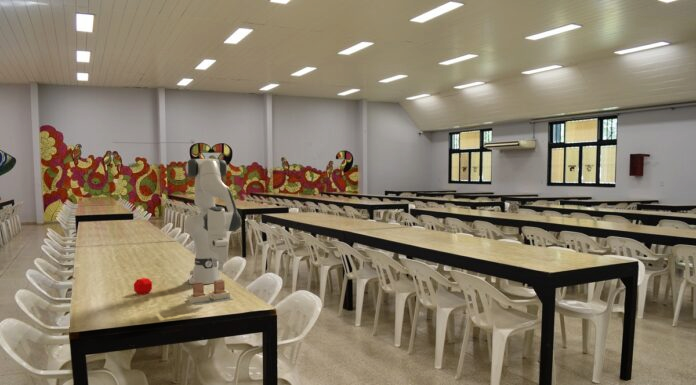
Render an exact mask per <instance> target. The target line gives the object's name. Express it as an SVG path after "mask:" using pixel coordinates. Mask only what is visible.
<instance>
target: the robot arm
mask: <svg viewBox="0 0 696 385" xmlns="http://www.w3.org/2000/svg"><path fill="white" fill-rule="evenodd" d="M227 172H228V164H227V162H226V160H224V159H221V158H218V159H217V158H210V157H209V158H208V157H207V158H192V159H188V160H187V161H186V164H185V173H186V175H187V176H188V177H189V178H192V179H194V200H193V201H194V205H195V206H197V207H198V208H199V210H200V213H201V214H194V215H192V216H189V217H187V218H185V220H184V223H183V227H184V230H185V232H186V233H187V234H189V235H190V237H191V239H192V241H193V244H194V250H195V251H194V252H195V257H194V266H193V268H192V270H190V271H189V276H191V277H189V278H188V283H189V284H190V285H193V283H199V282H202V283H203V284H204V285H209V284H214V281H215V280H224V279H223V277H221V273H220V272H221V271H223V270H224V269H223V268H224V267H223V266H224V264H225V263H226V262H228V254H229V252H228V251H229V250H228V246H229V244H230V243H229V240H228V237H227V232H232V233H233V232H237V231H238V230H239V229H240V228H241V226H242V218H241V216H240V213H239V212H238V209H237V206H236V203H235V200H234V197H233V194H232V192H231V189H230V187H229V186H227V185H226V184H225V183H224V181H222V178H224V177H225V176H226V174H227ZM215 198H217V199H221V200H222V201H224V203H225V207H226V210H227V211H226V210H225V208H224V207H222V206H216V199H215Z"/></svg>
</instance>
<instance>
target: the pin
mask: <svg viewBox="0 0 696 385" xmlns="http://www.w3.org/2000/svg"><path fill="white" fill-rule="evenodd" d="M204 285H205V284H203V283H202V282H199V283H193V284H192V294H193V297H198V296H204V292H205V290H204V289H205V288H204V287H205V286H204Z"/></svg>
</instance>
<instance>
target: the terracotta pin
mask: <svg viewBox="0 0 696 385" xmlns="http://www.w3.org/2000/svg"><path fill="white" fill-rule="evenodd" d="M225 286H226V285H225V280H224V279H223V280H215V281H214V283H213V291H214V294H219V293H225V290H226V289H225Z"/></svg>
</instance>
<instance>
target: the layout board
mask: <svg viewBox="0 0 696 385" xmlns="http://www.w3.org/2000/svg"><path fill="white" fill-rule="evenodd" d="M185 299H186V300H187V301H188V302H190V303H191V304H192V305H194V306H202V305H208V304H215V303H221V302H226V301H233V300H234V298H232V297H231V292H230V291H228V290H227V289H225V293H219V294H214V290H212V291H211V290H210V291H208V293H207V292H205V291H204V296H198V297H193V293H190V294H187V297H185Z"/></svg>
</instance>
